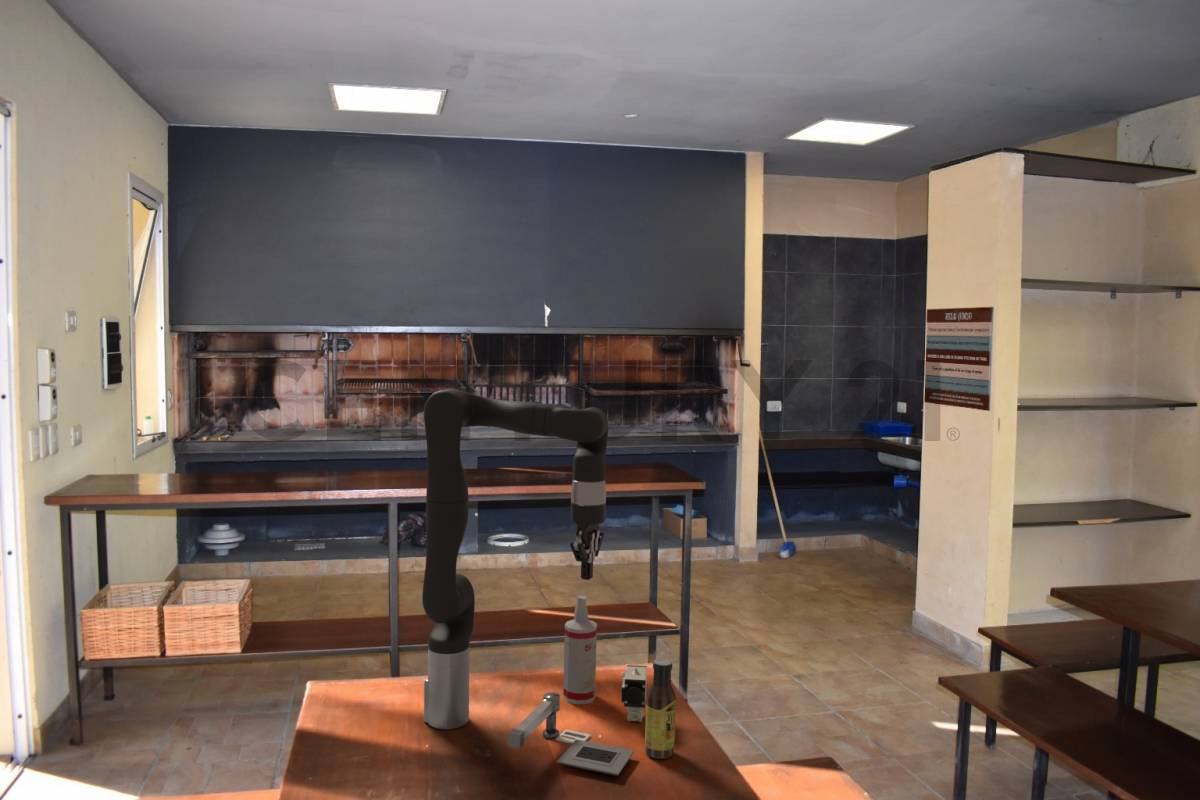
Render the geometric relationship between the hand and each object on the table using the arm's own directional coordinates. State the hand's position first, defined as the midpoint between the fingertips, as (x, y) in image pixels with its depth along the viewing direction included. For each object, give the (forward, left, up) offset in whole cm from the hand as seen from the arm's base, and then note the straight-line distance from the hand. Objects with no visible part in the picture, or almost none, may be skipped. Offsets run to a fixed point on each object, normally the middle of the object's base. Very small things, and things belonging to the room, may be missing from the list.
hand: (586, 578), depth 195 cm
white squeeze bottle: (-9, +17, -35) cm, 40 cm away
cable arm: (-5, -13, -29) cm, 32 cm away
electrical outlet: (+8, -11, -36) cm, 38 cm away
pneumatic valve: (+7, +12, -35) cm, 38 cm away
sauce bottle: (+18, -1, -35) cm, 40 cm away
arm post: (-6, -4, -35) cm, 36 cm away
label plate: (-1, -3, -35) cm, 35 cm away
